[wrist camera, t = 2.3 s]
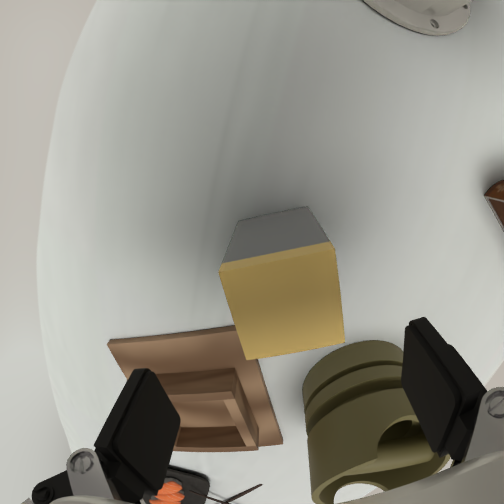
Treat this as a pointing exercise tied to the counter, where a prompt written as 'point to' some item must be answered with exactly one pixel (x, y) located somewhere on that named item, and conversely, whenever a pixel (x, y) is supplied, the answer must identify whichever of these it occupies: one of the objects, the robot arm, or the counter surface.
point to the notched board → (206, 388)
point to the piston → (363, 422)
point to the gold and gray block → (282, 285)
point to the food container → (497, 201)
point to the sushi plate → (185, 490)
